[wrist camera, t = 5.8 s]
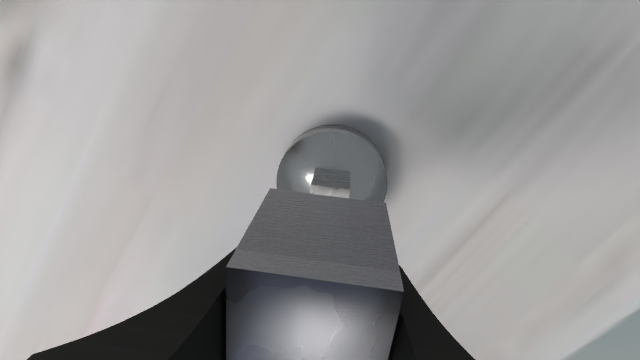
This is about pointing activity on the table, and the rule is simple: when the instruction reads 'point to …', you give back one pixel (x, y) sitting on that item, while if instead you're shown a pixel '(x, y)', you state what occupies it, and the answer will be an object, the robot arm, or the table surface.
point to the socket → (313, 281)
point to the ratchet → (334, 165)
